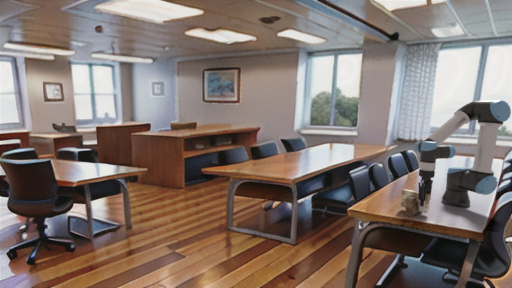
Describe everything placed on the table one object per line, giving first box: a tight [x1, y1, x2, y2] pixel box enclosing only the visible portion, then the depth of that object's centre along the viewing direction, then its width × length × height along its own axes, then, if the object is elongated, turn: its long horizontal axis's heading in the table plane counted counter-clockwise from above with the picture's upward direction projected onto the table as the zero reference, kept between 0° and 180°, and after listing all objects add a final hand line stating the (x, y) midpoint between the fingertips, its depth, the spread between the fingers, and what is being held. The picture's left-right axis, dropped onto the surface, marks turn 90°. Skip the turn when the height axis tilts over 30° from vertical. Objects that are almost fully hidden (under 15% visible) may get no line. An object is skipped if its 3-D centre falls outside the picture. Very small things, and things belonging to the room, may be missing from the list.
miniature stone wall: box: [405, 196, 421, 217], centre depth 171 cm, size 16×3×10 cm, turn 129°
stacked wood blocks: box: [400, 188, 431, 214], centre depth 171 cm, size 14×3×10 cm, turn 39°
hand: (423, 210), depth 168 cm, fingers closed on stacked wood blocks, 3 cm apart
